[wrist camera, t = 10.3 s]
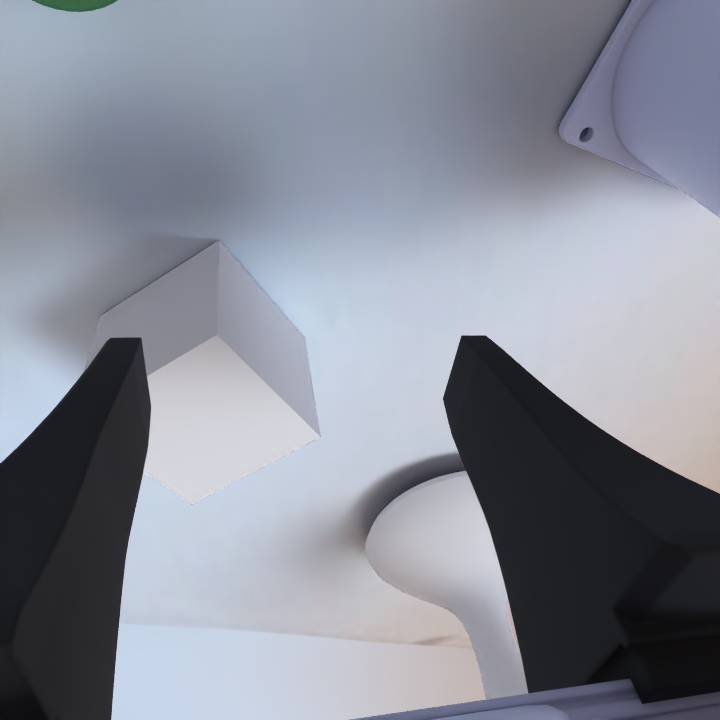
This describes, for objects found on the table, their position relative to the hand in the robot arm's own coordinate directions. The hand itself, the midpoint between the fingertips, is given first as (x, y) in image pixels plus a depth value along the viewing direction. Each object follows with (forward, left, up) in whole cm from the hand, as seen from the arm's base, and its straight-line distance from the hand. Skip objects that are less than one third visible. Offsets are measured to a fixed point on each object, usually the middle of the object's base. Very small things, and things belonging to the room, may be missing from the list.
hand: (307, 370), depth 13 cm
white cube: (+1, +7, -11) cm, 13 cm away
